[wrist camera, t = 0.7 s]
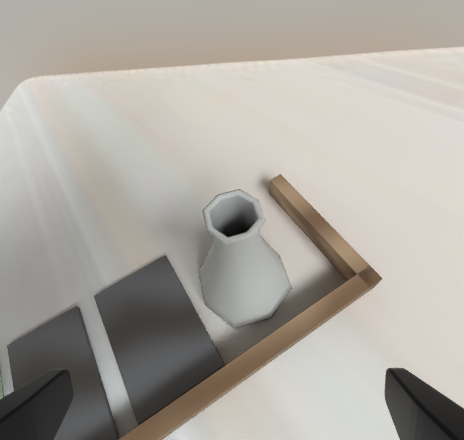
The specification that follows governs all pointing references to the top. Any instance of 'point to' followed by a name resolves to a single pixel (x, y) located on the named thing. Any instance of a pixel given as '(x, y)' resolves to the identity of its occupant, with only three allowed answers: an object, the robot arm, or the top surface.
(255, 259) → the flask
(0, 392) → the pad
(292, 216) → the box
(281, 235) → the top surface
